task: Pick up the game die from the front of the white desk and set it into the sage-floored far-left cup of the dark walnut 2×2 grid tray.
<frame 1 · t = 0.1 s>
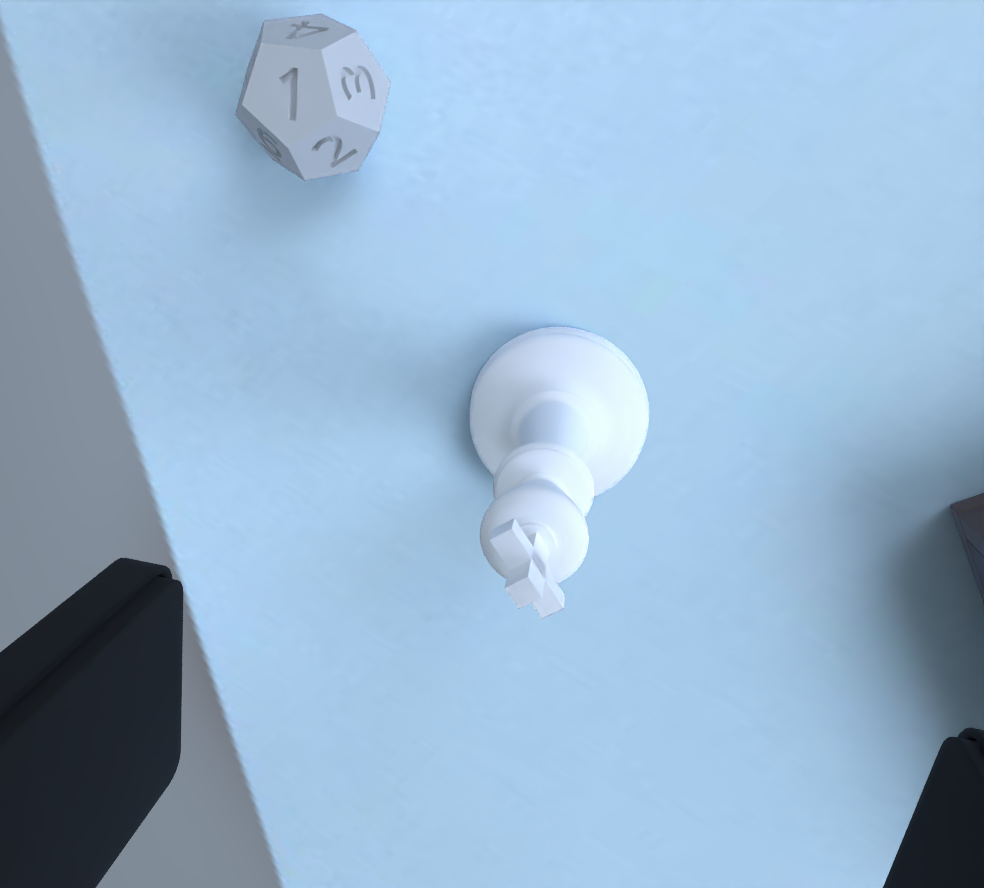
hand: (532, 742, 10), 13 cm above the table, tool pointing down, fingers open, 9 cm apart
chess piece: (558, 412, 23), on the table
game die: (335, 103, 21), on the table
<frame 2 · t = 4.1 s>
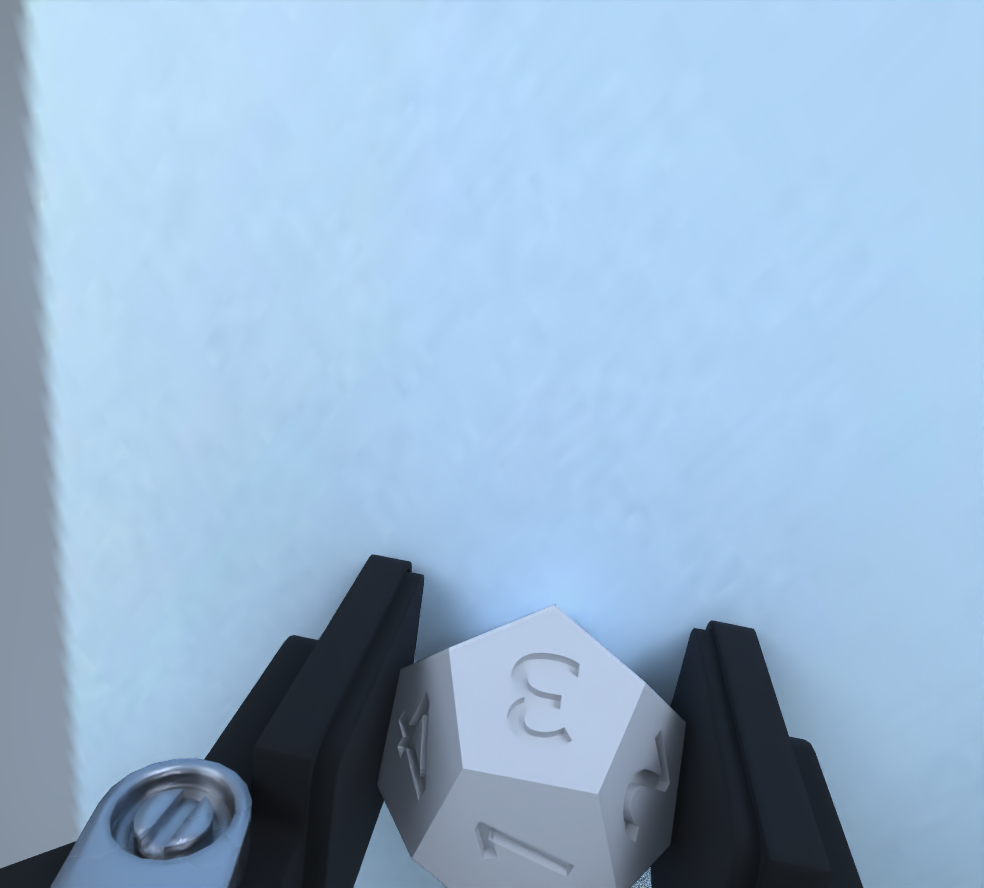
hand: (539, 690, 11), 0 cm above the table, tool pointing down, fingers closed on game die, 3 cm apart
game die: (542, 671, 11), on the table, touching gripper
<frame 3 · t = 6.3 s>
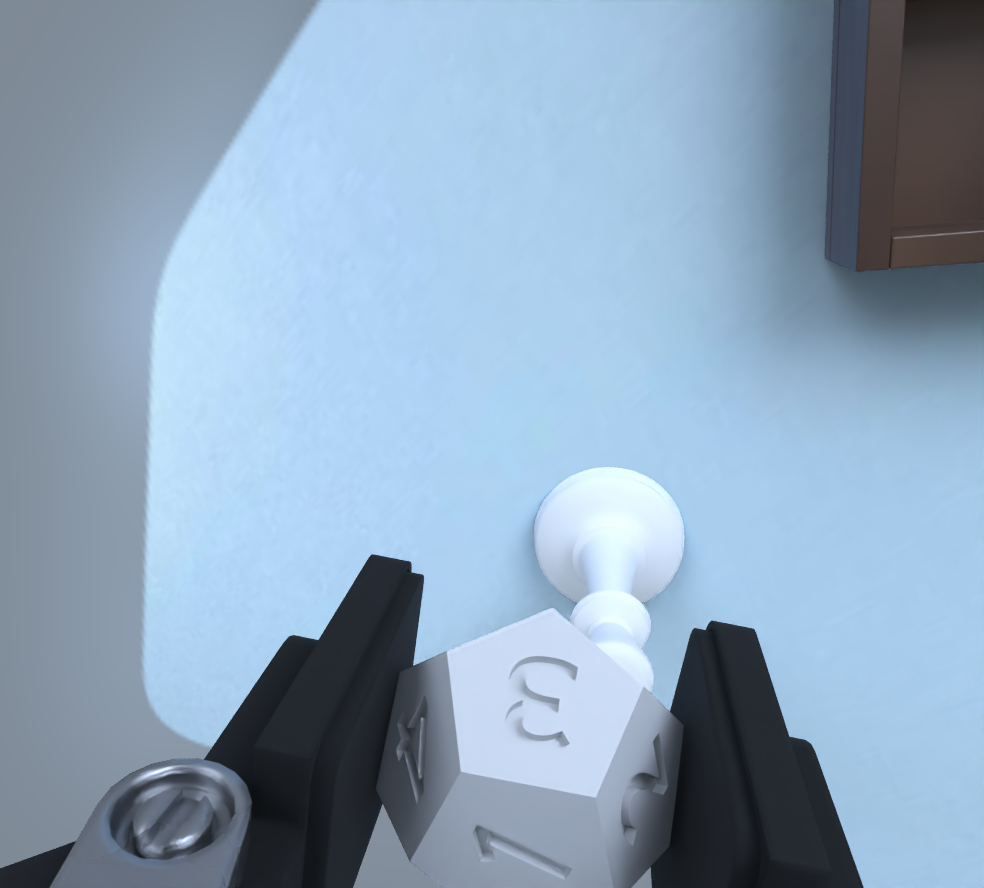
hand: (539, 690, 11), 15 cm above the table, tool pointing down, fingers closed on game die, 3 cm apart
chess piece: (608, 533, 27), on the table
game die: (540, 673, 11), point 15 cm above the table, touching gripper
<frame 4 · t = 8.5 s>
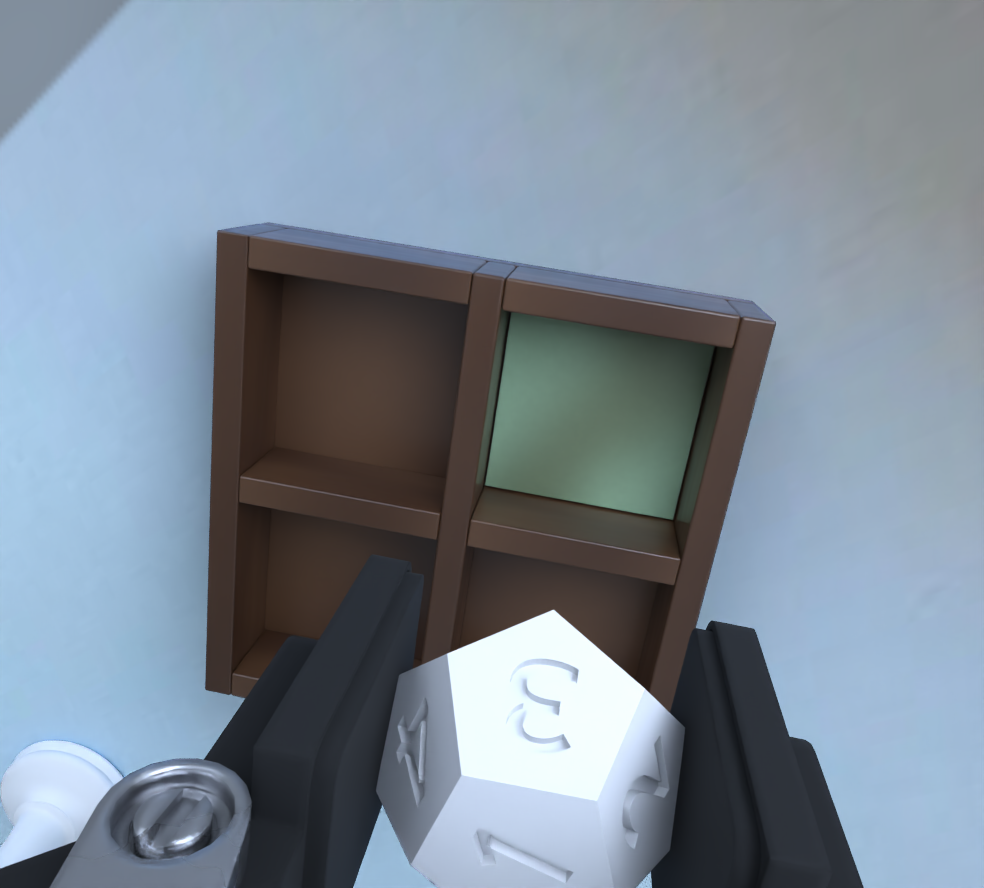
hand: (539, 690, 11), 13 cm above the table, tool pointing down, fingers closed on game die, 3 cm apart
chess piece: (75, 790, 30), on the table
game die: (541, 675, 11), point 13 cm above the table, touching gripper
grid: (471, 486, 24), on the table
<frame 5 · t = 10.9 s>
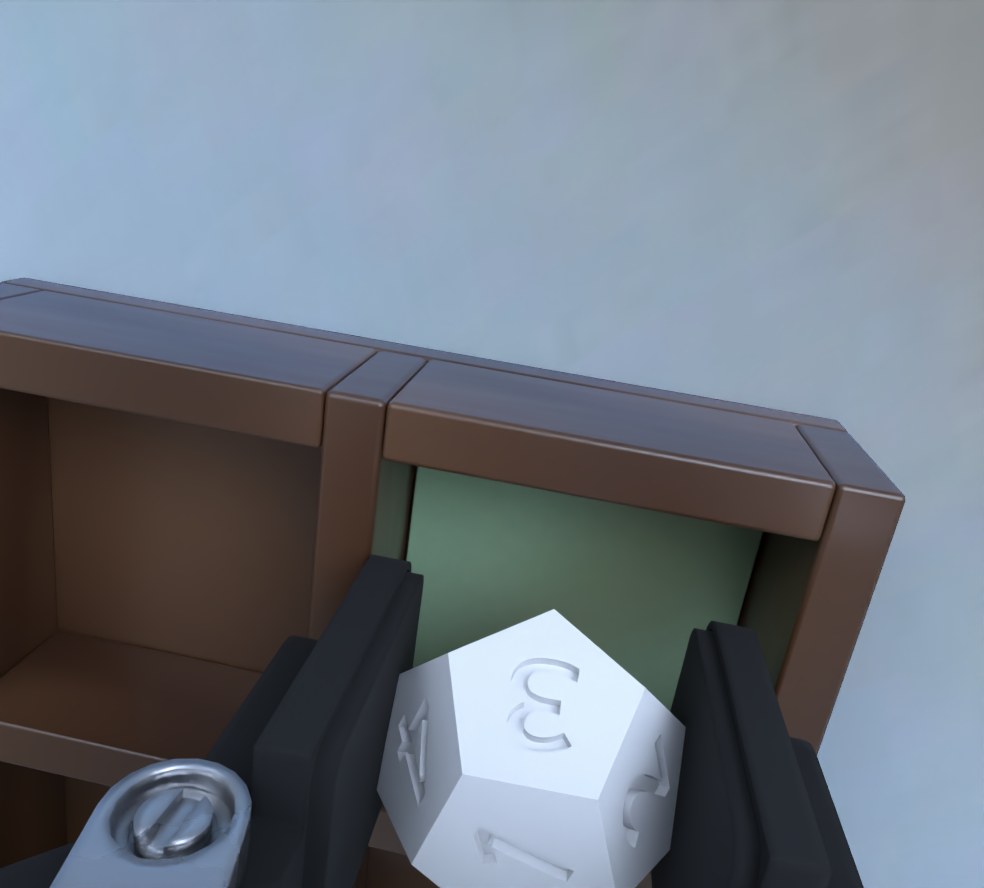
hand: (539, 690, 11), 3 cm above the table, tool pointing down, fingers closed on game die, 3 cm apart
game die: (541, 675, 11), point 3 cm above the table, touching gripper
grid: (373, 691, 15), on the table
when the fingers open (3 cm above the table, at t = 13.3 s): game die drops 2 cm, resting on grid.
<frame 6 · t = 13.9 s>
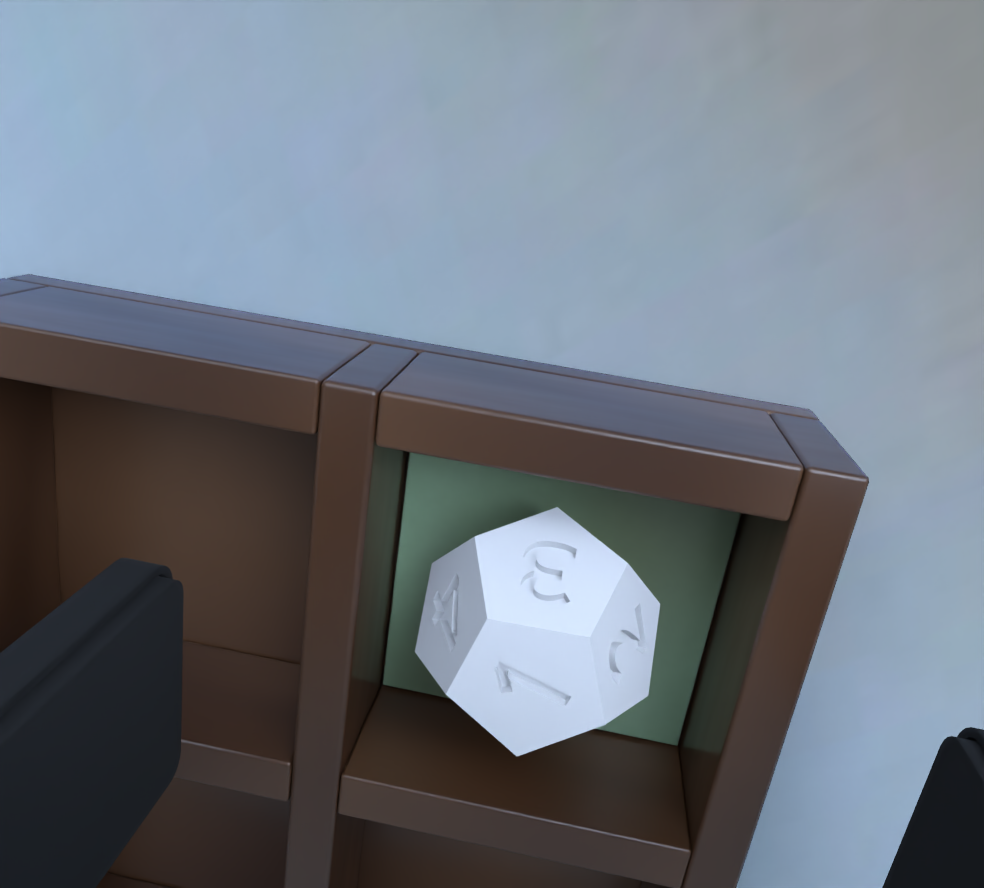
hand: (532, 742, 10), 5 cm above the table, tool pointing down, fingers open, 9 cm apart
game die: (545, 574, 14), point 1 cm above the table, touching grid
grid: (368, 674, 16), on the table
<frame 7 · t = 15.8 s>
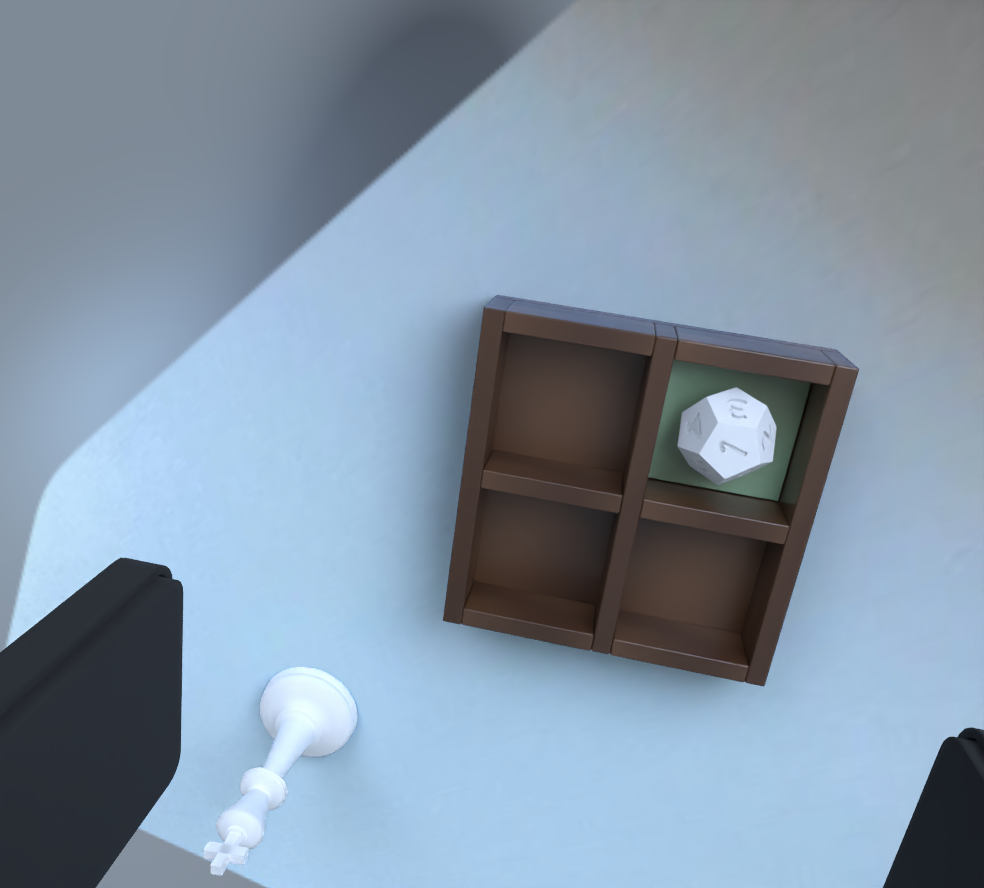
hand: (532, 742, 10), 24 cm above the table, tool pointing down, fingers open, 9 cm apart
chess piece: (311, 705, 41), on the table
game die: (721, 423, 32), point 1 cm above the table, touching grid
grid: (630, 478, 34), on the table
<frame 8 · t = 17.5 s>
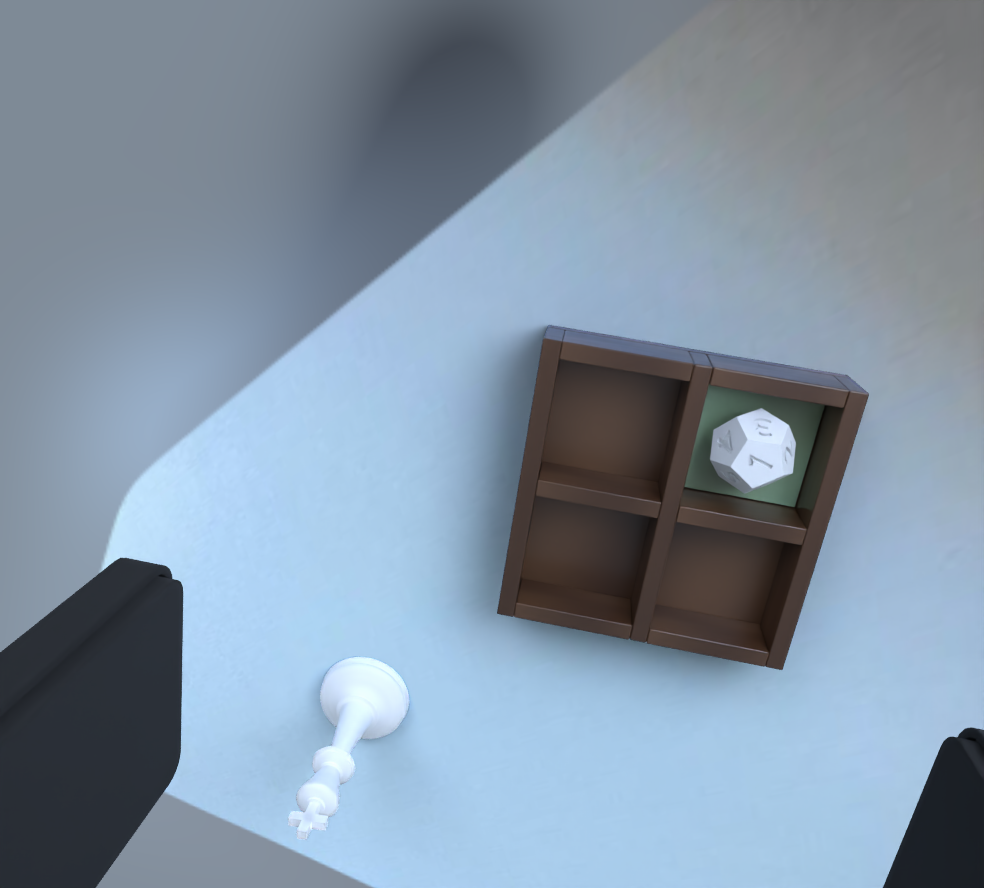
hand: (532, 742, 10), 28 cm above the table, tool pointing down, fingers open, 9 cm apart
chess piece: (366, 692, 45), on the table
game die: (746, 438, 37), point 1 cm above the table, touching grid
grid: (664, 486, 38), on the table
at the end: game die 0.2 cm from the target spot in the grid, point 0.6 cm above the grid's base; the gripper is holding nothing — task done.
